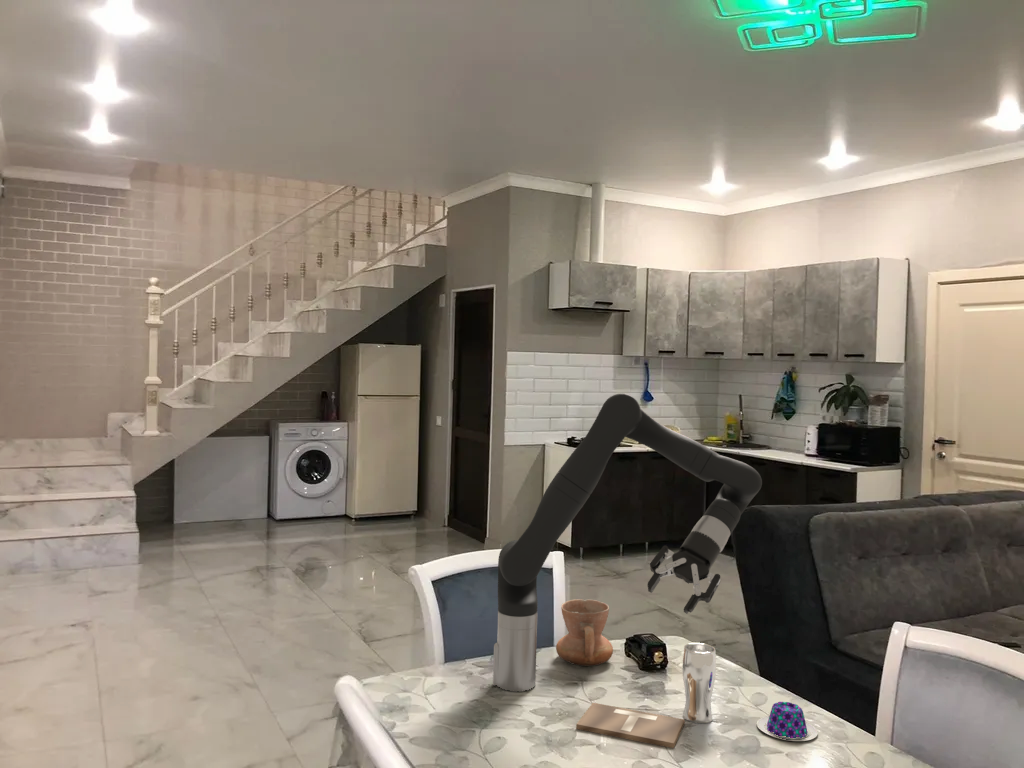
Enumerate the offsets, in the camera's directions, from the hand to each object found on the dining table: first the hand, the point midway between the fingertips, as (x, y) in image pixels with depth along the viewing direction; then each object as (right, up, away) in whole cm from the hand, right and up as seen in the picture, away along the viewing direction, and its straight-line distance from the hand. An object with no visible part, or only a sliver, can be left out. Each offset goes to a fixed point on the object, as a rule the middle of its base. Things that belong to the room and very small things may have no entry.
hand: (667, 601), depth 167 cm
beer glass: (+7, -26, +4) cm, 28 cm away
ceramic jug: (-14, -25, +36) cm, 47 cm away
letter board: (-8, -26, -1) cm, 27 cm away
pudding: (+25, -27, -1) cm, 37 cm away
